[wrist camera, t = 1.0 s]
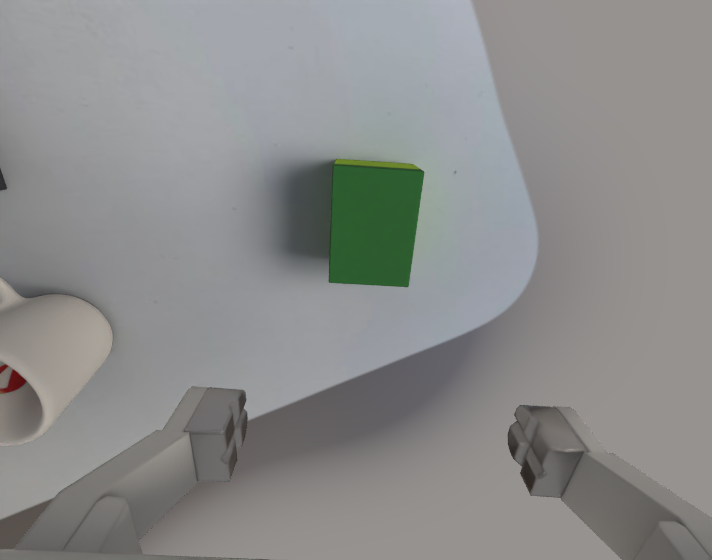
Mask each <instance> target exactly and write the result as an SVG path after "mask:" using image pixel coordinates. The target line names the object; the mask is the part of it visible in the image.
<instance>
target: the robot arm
mask: <svg viewBox="0 0 712 560" xmlns="http://www.w3.org/2000/svg"><path fill="white" fill-rule="evenodd" d="M245 402H246V393H245V391H244V390H237V389H225V388H212V387H210V388H207V387H195V386H192V387H191V388H190V389H188V390H187V392H186V394H185V395H184V397H183V398H182V400H181V401H180V403H179V405H178V406H177V408H176V409H175V411H174V413H173V414H172V416H171V417H170V419H169V421H168V422H167V424H166V425H165V427H164V428H163V430H156V431H155V432H153V433H152V434H150V435H148V436H147V437H145V438H144V439H142V440H141V441H139V442H137V443H136V444H134V445H133V446H131V447H130V448H128V449H126V450H125V451H123V452H122V453H120V454H118V455H117V456H115V457H114V458H112V459H111V460H109V461H107V462H106V463H104V464H103V465H101V466H100V467H98V468H96V469H95V470H93V471H92V472H90V473H89V474H87V475H85V476H84V477H82V478H81V479H79V480H77V481H76V482H74V483H73V484H71V485H70V486H68V487H66V488H65V489H63V490H62V491H60V492H59V493H58V494H57V495H56V497H55V498H54V499H53V500H52V502H51V503H50V504H49V505H48V507H47V508H46V509H45V510H44V511H43V513H42V514H41V515H40V516H39V518H38V519H37V520H36V521H35V523H34V524H33V525H32V526H31V528H30V529H29V530H28V531H27V533H26V534H25V535H24V536H23V538H22V539H21V540H20V541H19V542H18V544H17V545H16V546H15V547H14V549H13V550H12V549H11V550H10V549H0V560H265V559H241V558H240V559H239V558H216V557H189V556H164V555H143V554H142V550H141V547H140V543H139V540H140V539H141V538H142V537H143V536H144V535H145V534H146V533H147V532H148V531H149V530H150V529H151V528H152V527H153V526H154V525H155V524H156V523H157V522H158V521H159V520H160V519H161V518H162V517H163V516H164V515H165V514H166V513H167V512H168V511H169V510H170V509H171V508H173V506H175V505H176V504H177V503H178V502H179V500H181V499H182V498H183V497H184V496H185V494H187V493H188V492H189V491H190V490H191V489H192V488H193V487H194V486H195V485H196V484H197V481H218V482H219V481H220V482H229V481H230V479H231V476H232V473H233V470H234V467H235V464H236V462H237V452H236V450H238V449H239V448H240V447H241V446H242V444H243V441H244V438H245V434H246V429H247V411H246V410H245V409H244V405H245ZM514 415H515V417H516V419H517V421H516V422H515V423H513V424H512V425H511V426H510V429H509V432H508V446H509V449H510V453H511V455H512V457H513V459H514V460H515V461H516V462H517V463H518V464H520V465H521V466H522V469H521V472H520V474H521V476H522V478H523V480H524V482H525V484H526V487H527V488H528V491H529V493H530V495H531V496H543V497H556V498H561V500H562V501H563V502H564V503H565V504H566V505H567V506H568V507H569V508H570V509H571V510H572V511H573V512H574V513H575V514H576V515H577V516H578V517H579V518H580V519H581V520H582V521H583V522H584V523H585V524H586V525H587V526H588V527H589V528H590V529H591V530H592V531H593V532H594V533H595V534H596V535H597V536H598V537H599V538H600V539H601V540H602V541H604V543H606V545H607V546H608V547H610V548H611V549H612V550H613V551H614V552H615V553H616V554H617V555H618V556H619V557H620V558H621V559H622V560H712V518H711V517H710V516H708V515H707V514H705V513H704V512H702V511H701V510H699V509H698V508H696V507H694V506H693V505H691V504H690V503H688V502H687V501H685V500H684V499H682V498H680V497H679V496H677V495H676V494H674V493H673V492H672V491H670V490H668V489H667V488H665V487H663V486H662V485H661V484H659V483H658V482H656V481H654V480H653V479H652V478H650V477H649V476H647V475H646V474H644V473H643V472H641V471H639V470H638V469H636V468H635V467H633V466H632V465H630V464H629V463H627V462H626V461H624V460H623V459H621V458H619V457H618V456H617V455H615V454H613V453H608V452H607V451H606V450H605V449H604V447H603V446H602V445H601V443H600V442H599V441H598V440H597V438H596V437H595V436H594V434H593V433H592V432H591V430H590V429H589V428H588V427H587V425H586V424H585V423H584V421H583V420H582V419H581V418H580V416H579V415H578V414H577V412H576V411H575V410H574V409H572V408H570V407H554V406H553V407H550V406H529V405H520V406H519V407H517V409H516V411H515V414H514ZM266 560H267V559H266Z"/></svg>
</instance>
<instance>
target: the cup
mask: <svg viewBox="0 0 712 560" xmlns="http://www.w3.org/2000/svg"><path fill="white" fill-rule="evenodd" d="M112 344H113V334H112V330H111V327H110V325H109V323H108V321H107V320H106V318H105V317H104V316H103V314H102V313H101V312H100V311H99V310H98V309H96V308H95V307H94V306H93V305H91V304H90V303H88V302H86V301H84V300H82V299H79V298H77V297H74V296H70V295H64V294H48V295H42V296H38V297H34V298H23V297H22V296H20V295H19V294H18V293H16V292H15V290H14V289H13V288H12V287H11V286H10V285H9V284H8V283H7V282H6V281H5V280H3V279H2V278H1V277H0V446H12V445H19V444H23V443H27V442H29V441H32V440H34V439H36V438H38V437H39V436H41V435H42V434H43V433H45V432H46V431H47V430H48V429H49V428H50V426H51V425H52V424H53V423H54V422H55V420H56V419H57V418H58V417H59V416H60V414H61V413H62V412H63V411H64V410H65V408H66V407H67V406H68V405H69V404H70V402H71V401H72V400H73V399H74V398H75V396H76V395H77V394H78V393H79V392H80V390H81V389H82V388H83V387H84V386H85V384H86V383H87V382H88V381H89V380H90V378H91V377H92V376H93V375H94V374H95V372H96V371H97V370H98V369H99V368H100V366H101V365H102V364H103V362H104V361H105V360H106V358H107V357H108V355H109V353H110V351H111V348H112Z"/></svg>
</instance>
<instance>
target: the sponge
mask: <svg viewBox="0 0 712 560" xmlns="http://www.w3.org/2000/svg"><path fill="white" fill-rule="evenodd" d="M423 178H424V171H422V170H421V169H419V168H418V167H416V166H415V165H413V164H405V163H390V162H375V161H360V160H345V159H336V161H335V163H334V165H333V178H332V206H331V234H330V262H329V283H345V284H363V285H381V286H399V287H408V286H409V279H410V272H411V264H412V257H413V250H414V243H415V235H416V228H417V221H418V214H419V207H420V199H421V192H422V185H423Z"/></svg>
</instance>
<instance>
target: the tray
mask: <svg viewBox="0 0 712 560" xmlns="http://www.w3.org/2000/svg"><path fill="white" fill-rule="evenodd" d="M5 189H7V187H6V184H5V182H4V179H3V176H2V173H1V170H0V190H5Z"/></svg>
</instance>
